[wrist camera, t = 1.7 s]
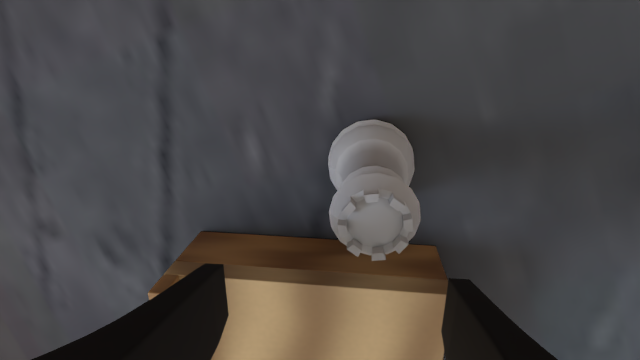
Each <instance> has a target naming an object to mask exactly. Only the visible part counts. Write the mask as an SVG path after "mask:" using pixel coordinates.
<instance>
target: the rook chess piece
mask: <svg viewBox="0 0 640 360" xmlns="http://www.w3.org/2000/svg"><path fill="white" fill-rule="evenodd" d="M328 161H329V162H328V166H329V173H330V179H331V181H332V183H333V184H334V186H335V187H336V189H337V192H336V193H335V195H334V196H333V199H332V202H331V206H330V209H329V217H330V223H331V228H332V230H333V231H334V233H335V234H336V236H337V238H338V239H339V241H340V242H342V243H343V244H344V245H346V246H347V250H348V251H350V252H351V253H353V254H354V255H355V256H357V257H358V256H359V254H360V253H363V254H366V255H371V258H372V261H378V260H386V255H385V254H389V253H391V252H393V251H396V252H397V253H398V254H400V253H401V252H402V251H403V250H404V249H405V248H406V247H407V246H408V245H409V244H408V242H409V241H410V240H411V239H412V238H413V237H414V236H415V234H416V231H417V228H418V226H419V223H420V221H421V215H420V203H419V201H418V200H417V198H416V196H415V194H414V192H413V191H412V189H411V188H410V187H409V185H410V182H411V179H412V176H413V174H414V171H415V167H414V154H413V148H412V146H411V145H410V143H409V141H408V139H407V137H406V135H405V134H404V133H403V132H401V131H400V130H399V129H398V128H396V127H395V126H394V125H392V124H390V123H386V122H383V121H379V120H375V119H374V120H366V121H358V122H356V123H354V124H352V125H351V126H349V127H347V128H345V129H343V130H342V131H341V133H340V134H339V135H338V136H337V138H336V139H335V140H334V142H333V143H332V146H331V150H330V154H329V157H328Z"/></svg>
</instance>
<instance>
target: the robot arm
mask: <svg viewBox="0 0 640 360" xmlns="http://www.w3.org/2000/svg"><path fill="white" fill-rule="evenodd" d="M228 316H229V313H228V304H227V294H226V284H225V275H224V265H223V264H211V263H205V264H203V265H202V266H200V267H198V268H197V269H195V270H194V271H192V272H191V273H189V274H188V275H186V276H185V277H184V278H182V279H181V280H179V281H178V282H176V283H175V284H173V285H172V286H170V287H169V288H167V289H166V290H164V291H163V292H161V293H160V294H158V295H157V296H155V297H154V298H152V299H150V300H149V301H147V302H146V303H144V304H142V305H141V306H139V307H137V308H136V309H134V310H133V311H131V312H129V313H128V314H126V315H124V316H123V317H121V318H119V319H117V320H116V321H114V322H112V323H110V324H108V325H106V326H104V327H102V328H100V329H98V330H97V331H95V332H93V333H91V334H89V335H87V336H85V337H82V338H80V339H78V340H76V341H74V342H71V343H69V344H67V345H65V346H62V347H60V348H58V349H56V350H53V351H51V352H49V353H47V354H44V355H42V356H39V357H37V358H34V359H31V360H211V359H212V357H213V355H214V353H215V351H216V348H217V346H218V344H219V342H220V339H221V336H222V333H223V331H224V328H225V325H226V322H227V319H228ZM441 333H442V339H443V345H444V351H445V356H446V360H558V359H556V358H555V357H554V356H552V355H551V354H550V353H549V352H547V351H546V350H545V349H544V348H543V347H541V346H540V345H539V344H538V343H537V342H536V341H534V340H533V339H532V338H531V337H530V336H528V335H527V334H526V333H525V332H524V331H523V330H522V329H520V328H519V327H518V326H517V325H516V324H515V323H514V322H513V321H512V320H511V319H510V318H508V317H507V316H506V315H505V314H504V313H503V312H502V311H501V310H500V309H499V308H498V307H497V306H496V305H495V304H494V303H493V302H492V301H491V300H490V299H489V298H488V297H487V296H486V295H485V294H484V293H483V292H482V291H481V290H480V289H479V288H478V287H477V286H476V285H474V284H473V283H472V282H471V281H470V280H467V279H451V278H449V281H448V287H447V294H446V301H445V308H444V315H443V322H442V329H441Z"/></svg>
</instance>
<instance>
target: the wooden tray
mask: <svg viewBox="0 0 640 360" xmlns="http://www.w3.org/2000/svg"><path fill="white" fill-rule="evenodd" d="M385 255H386V260H378V261H372V258H371V255H366V254H363V253H360V254H359V256H358V257H357V256H355V255H354V254H353V253H351V252H350V251H348V250H347V246H346V245H344V244H343V243H342V242H340V241H339V240H332V239H316V238H300V237H284V236H268V235H251V234H235V233H219V232H203V231H201V232H200V233H199V234H198V235H197V236H196V238H195V239H194V240H193V241H192V242H191V243H190V244H189V246H188V247H187V248H186V249H185V250H184V251H183V253H182V254H181V255H180V256H179V257H178V258H177V260H176V261H175V262H174V263H173V264H172V265H171V266H170V267H169V269H168V270H167V271H166V272H165V273H164V275H163V276H162V277H161V278H160V279H159V281H158V282H157V283H156V284H155V285H154V286H153V287H152V289H151V290H150V291H149V292H148V296H149V300H150V299H152V298H154V297H155V296H157V295H158V294H160V293H161V292H163V291H164V290H166V289H167V288H169V287H170V286H172V285H173V284H175V283H176V282H178V281H179V280H181V279H182V278H184V277H185V276H186V275H188V274H189V273H191V272H192V271H194V270H195V269H197V268H198V267H200V266H202V265H203V264H205V263H211V264H223V265H224V275H225V284H226V294H227V304H228V313H229V316H228V319H227V322H226V325H225V328H224V331H223V333H222V336H221V339H220V342H219V344H218V346H217V348H216V351H215V353H214V355H213V357H212V359H211V360H443V357H444V345H443V339H442V333H441V329H442V322H443V315H444V308H445V301H446V294H447V287H448V279H447V277H446V274H445V271H444V268H443V265H442V263H441V260H440V257H439V254H438V252H437V249H436V246H428V245H412V244H409V245H408V246H407V247H406V248H405V249H404V250H403V251H402V252H401V253H400V254H398V253H397V252H396V251H393V252H391V253H389V254H385Z"/></svg>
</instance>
